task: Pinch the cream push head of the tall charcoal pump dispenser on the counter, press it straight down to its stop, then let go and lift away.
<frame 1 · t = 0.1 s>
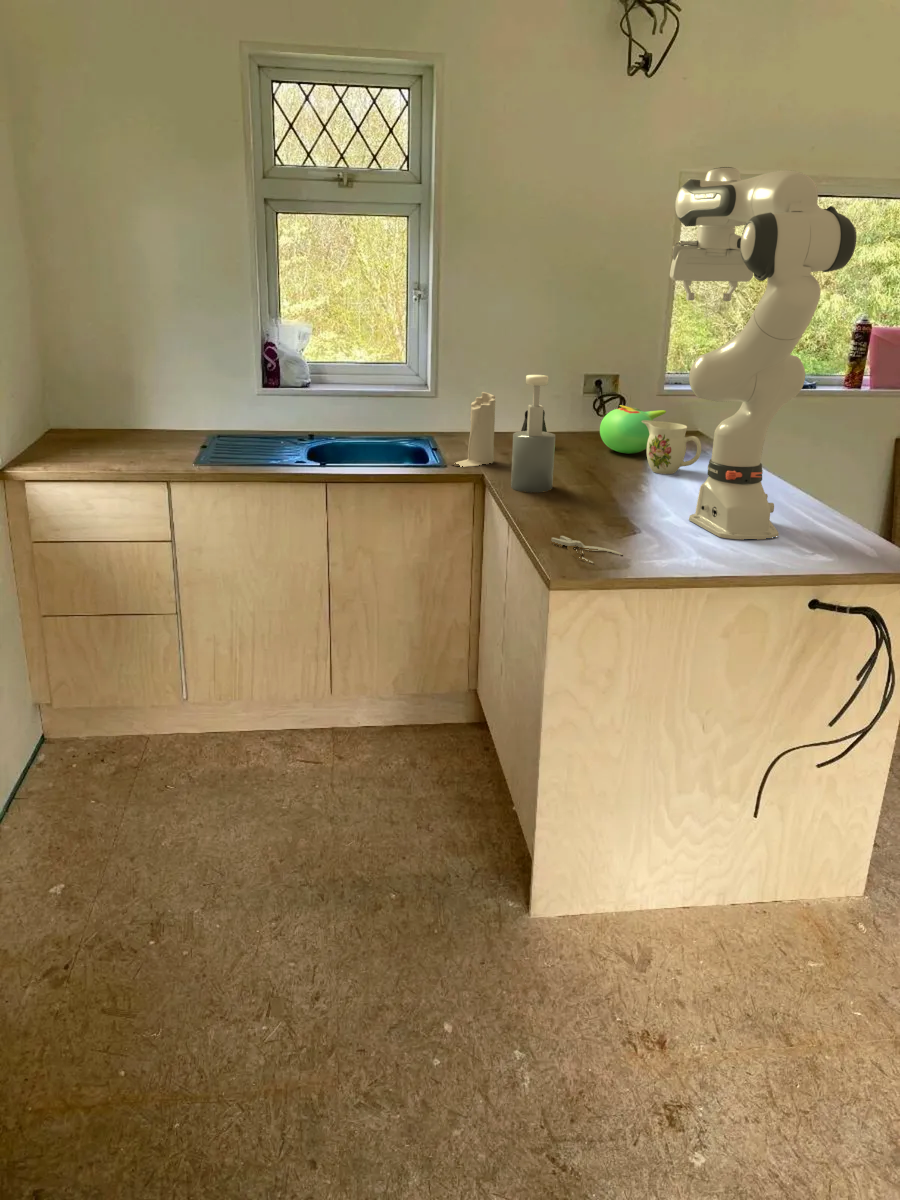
hand: (708, 300, 231), 48 cm above the worktop, tool pointing down, fingers open, 8 cm apart
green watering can: (627, 453, 290), on the worktop
candle: (472, 464, 272), on the worktop
door stopper: (533, 448, 294), on the worktop
pitcher: (667, 472, 266), on the worktop
pump head: (536, 394, 238), point 24 cm above the worktop, slide at 0.0 cm
dispenser: (531, 487, 247), on the worktop
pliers: (581, 553, 197), on the worktop
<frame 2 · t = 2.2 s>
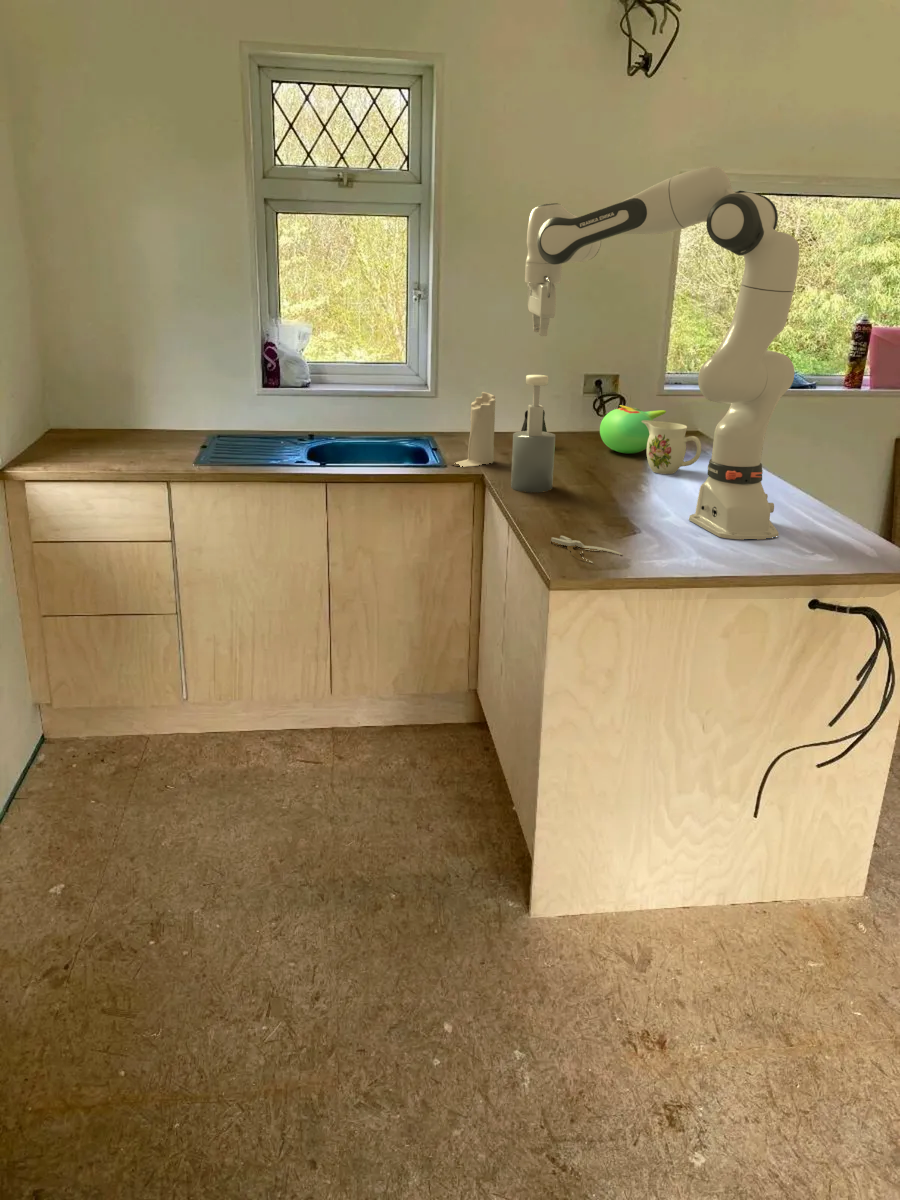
hand: (539, 333, 232), 39 cm above the worktop, tool pointing down, fingers open, 8 cm apart
nothing on the worktop moved.
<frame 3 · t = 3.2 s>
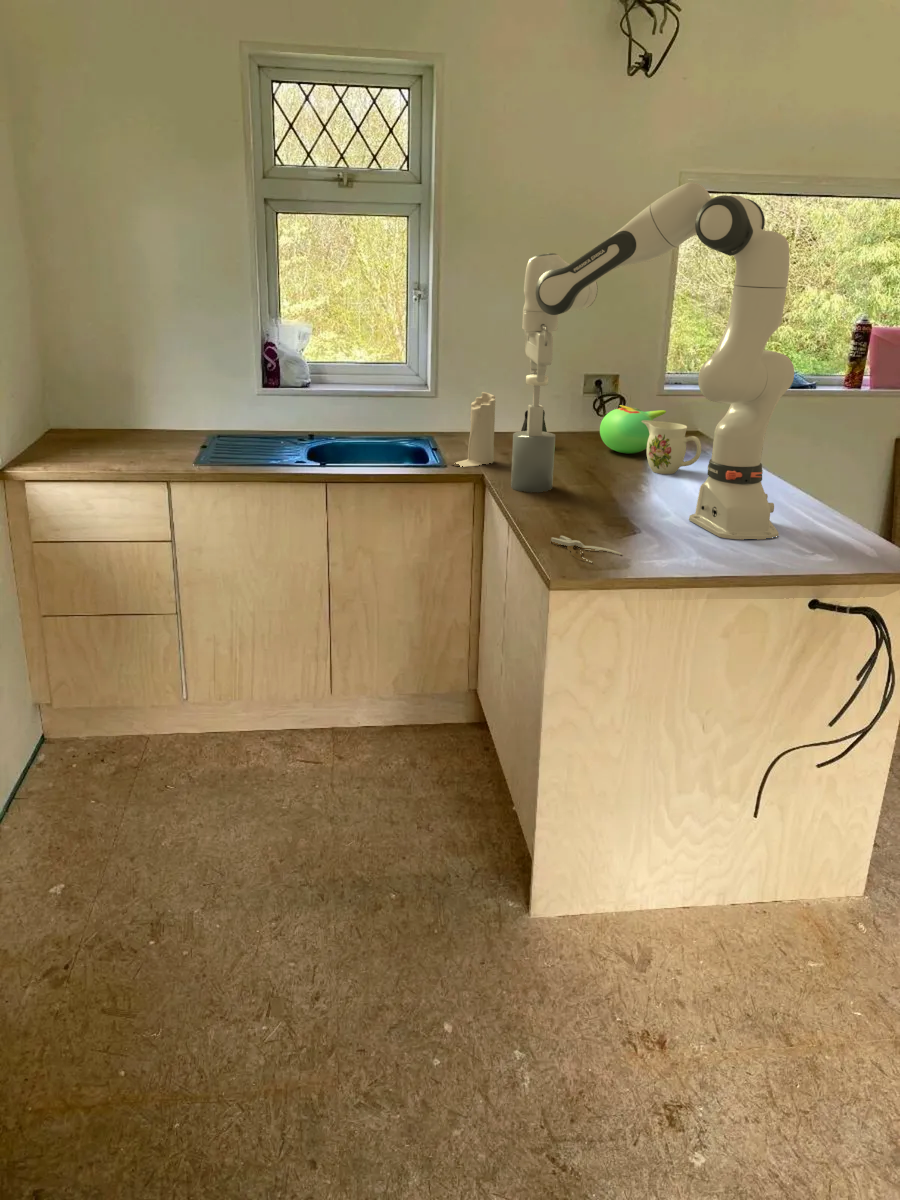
hand: (537, 379, 236), 28 cm above the worktop, tool pointing down, fingers open, 8 cm apart
nothing on the worktop moved.
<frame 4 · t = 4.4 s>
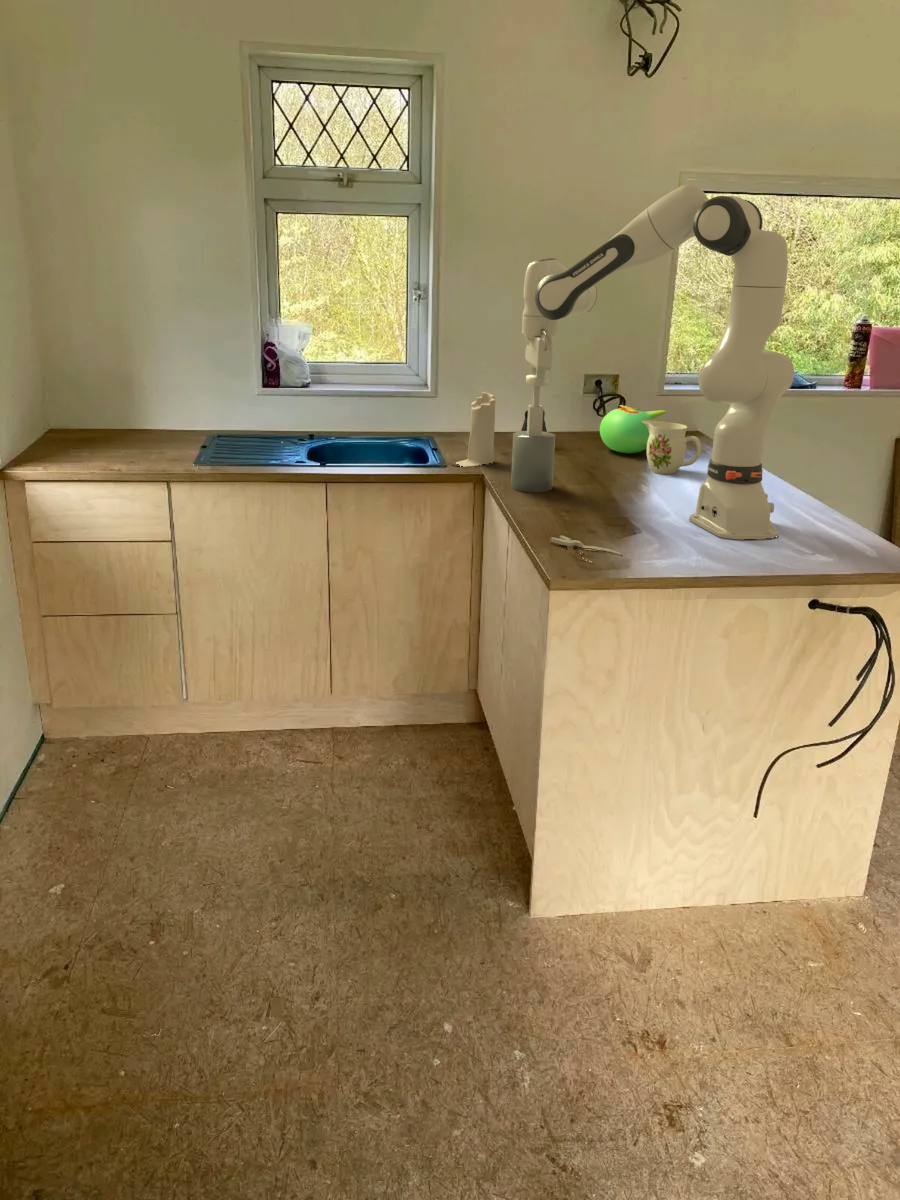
hand: (536, 383, 237), 27 cm above the worktop, tool pointing down, fingers closed on pump head, 6 cm apart
pump head: (536, 394, 238), point 24 cm above the worktop, slide at 0.0 cm, touching gripper
everything else where it was.
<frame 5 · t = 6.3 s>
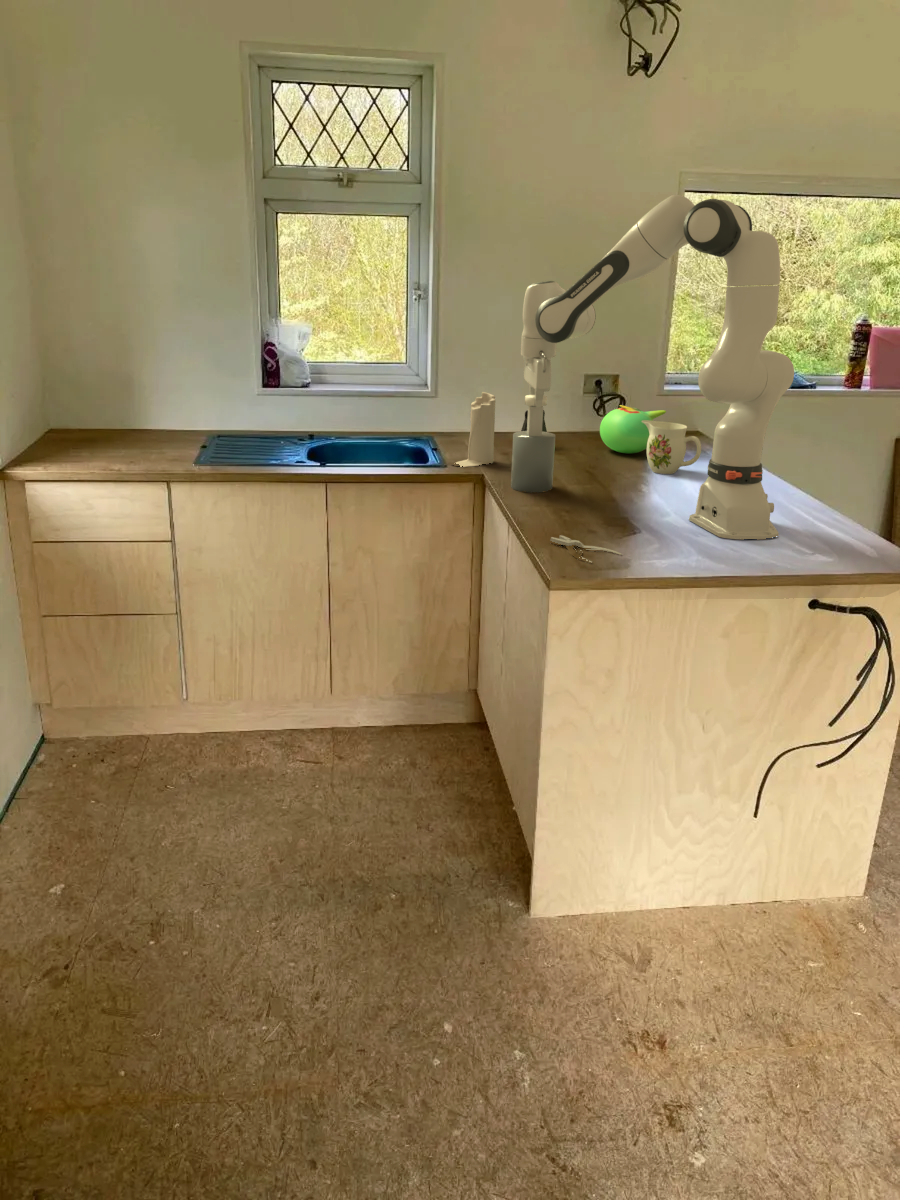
hand: (535, 404, 239), 22 cm above the worktop, tool pointing down, fingers closed on pump head, 6 cm apart
pump head: (535, 414, 240), point 19 cm above the worktop, slide at 5.1 cm, touching gripper
everything else where it was.
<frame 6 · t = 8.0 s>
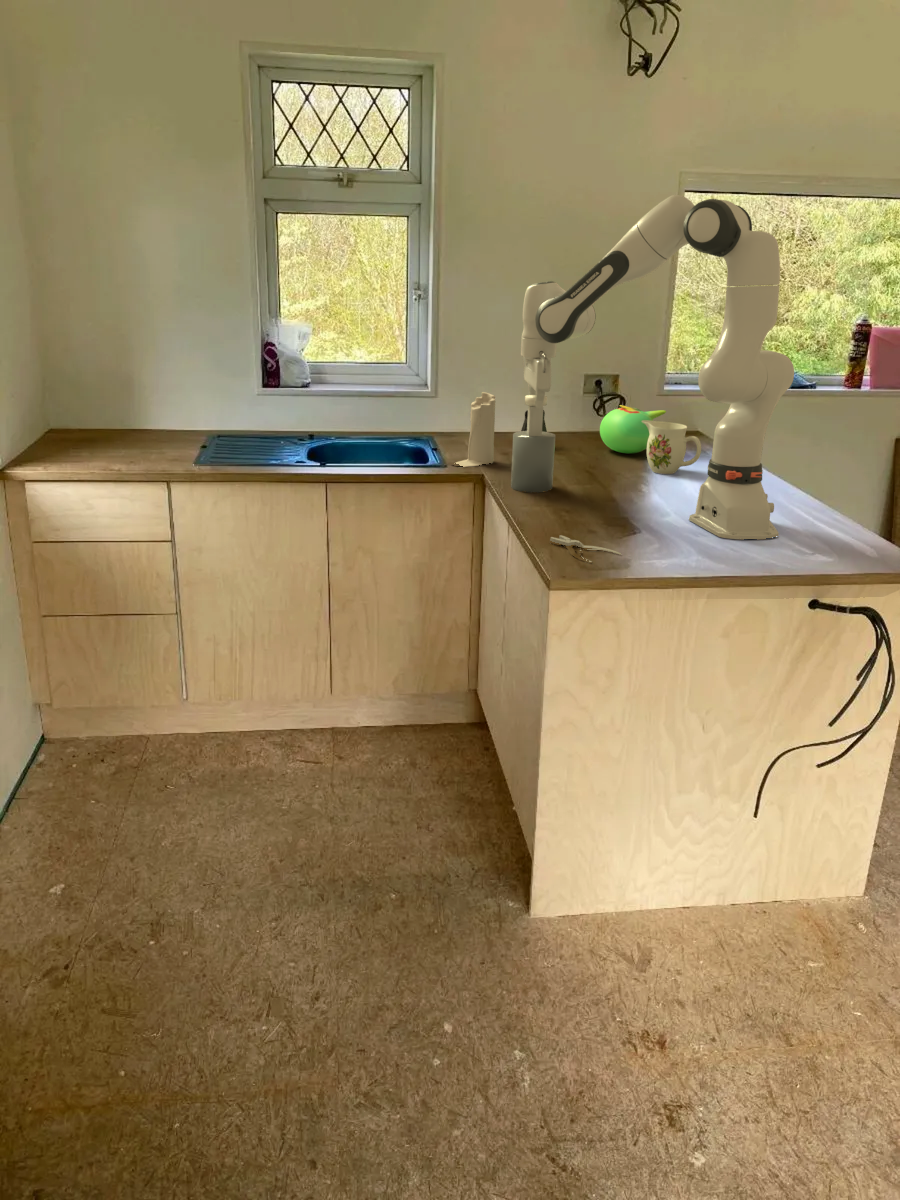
hand: (535, 404, 239), 22 cm above the worktop, tool pointing down, fingers open, 8 cm apart
pump head: (535, 414, 240), point 19 cm above the worktop, slide at 5.1 cm
everything else where it was.
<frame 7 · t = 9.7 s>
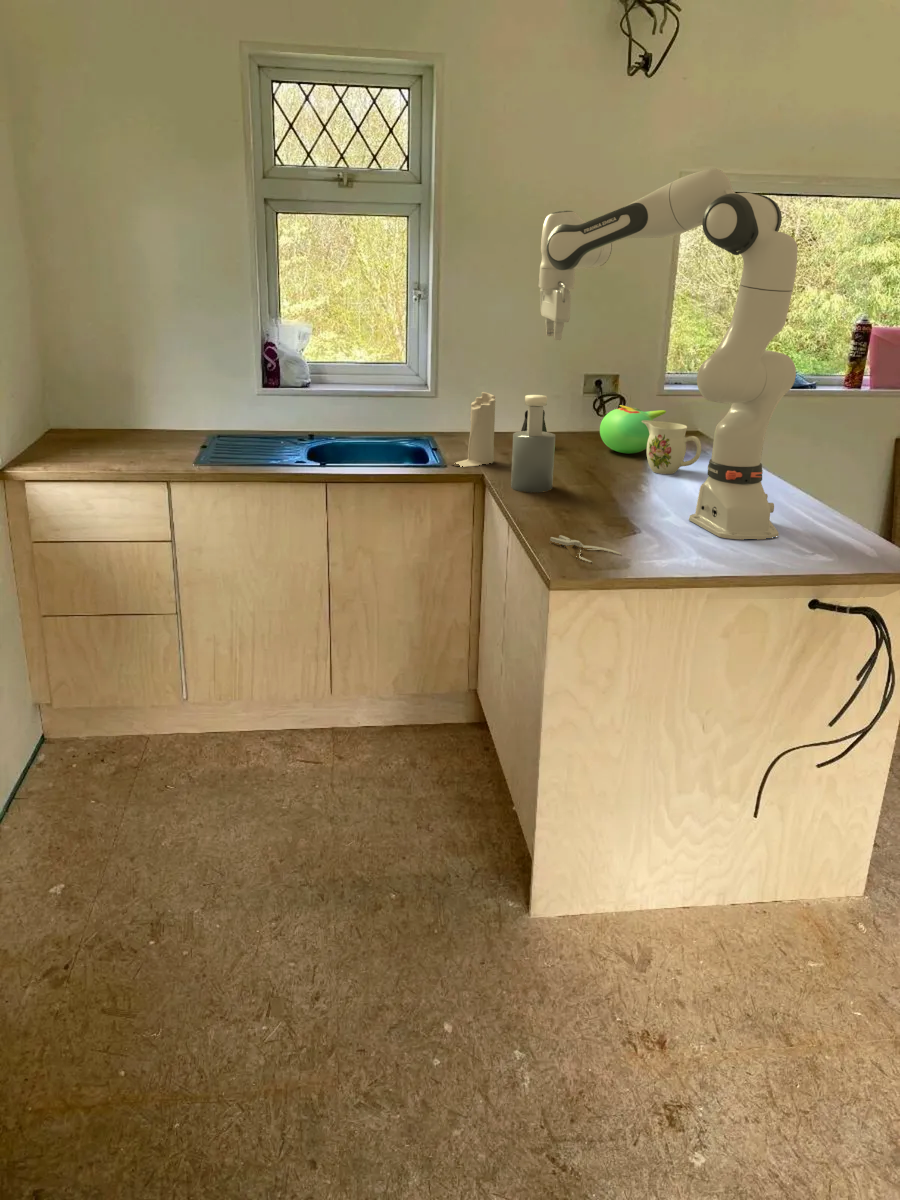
hand: (553, 337, 238), 38 cm above the worktop, tool pointing down, fingers open, 8 cm apart
nothing on the worktop moved.
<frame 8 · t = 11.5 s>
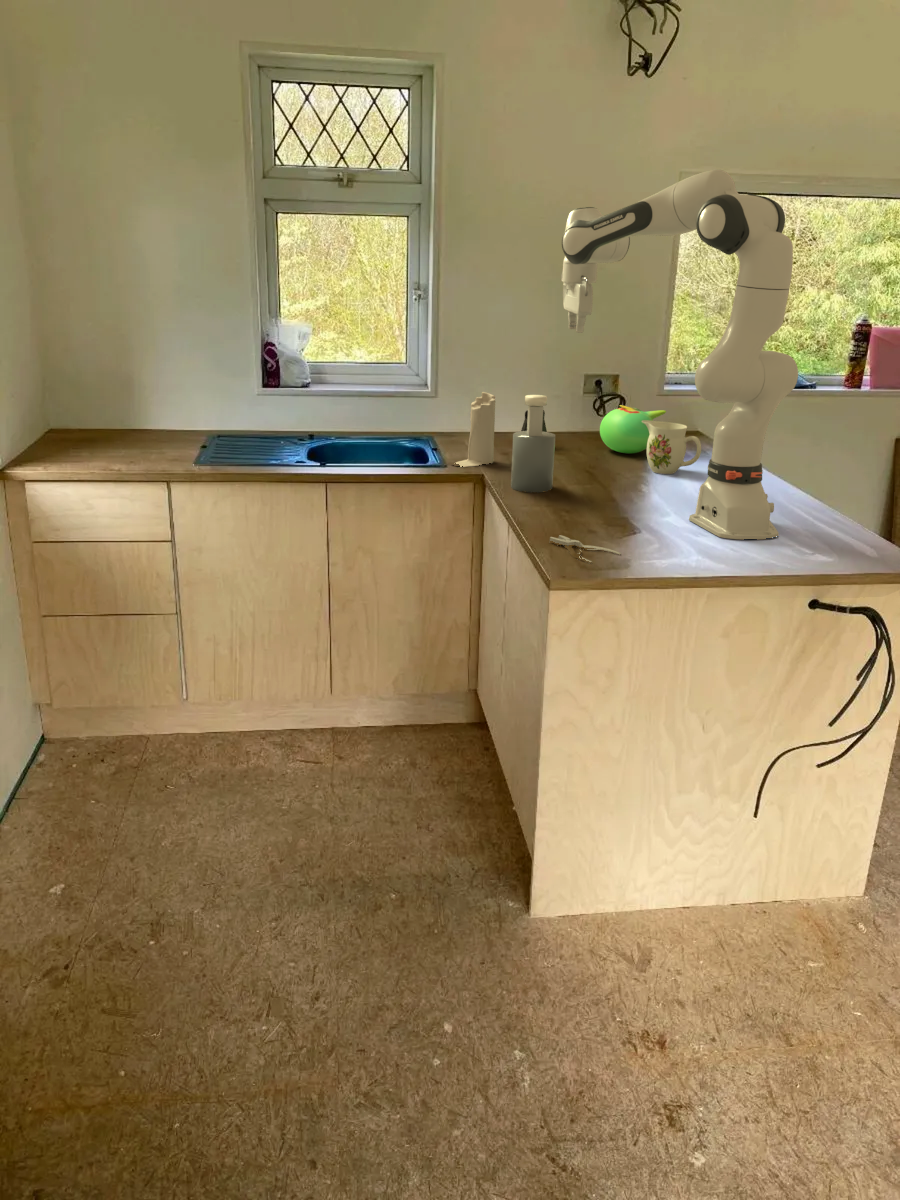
hand: (575, 330, 245), 39 cm above the worktop, tool pointing down, fingers open, 8 cm apart
nothing on the worktop moved.
at the end: pump head slide at 5.1 cm; the gripper is holding nothing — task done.
